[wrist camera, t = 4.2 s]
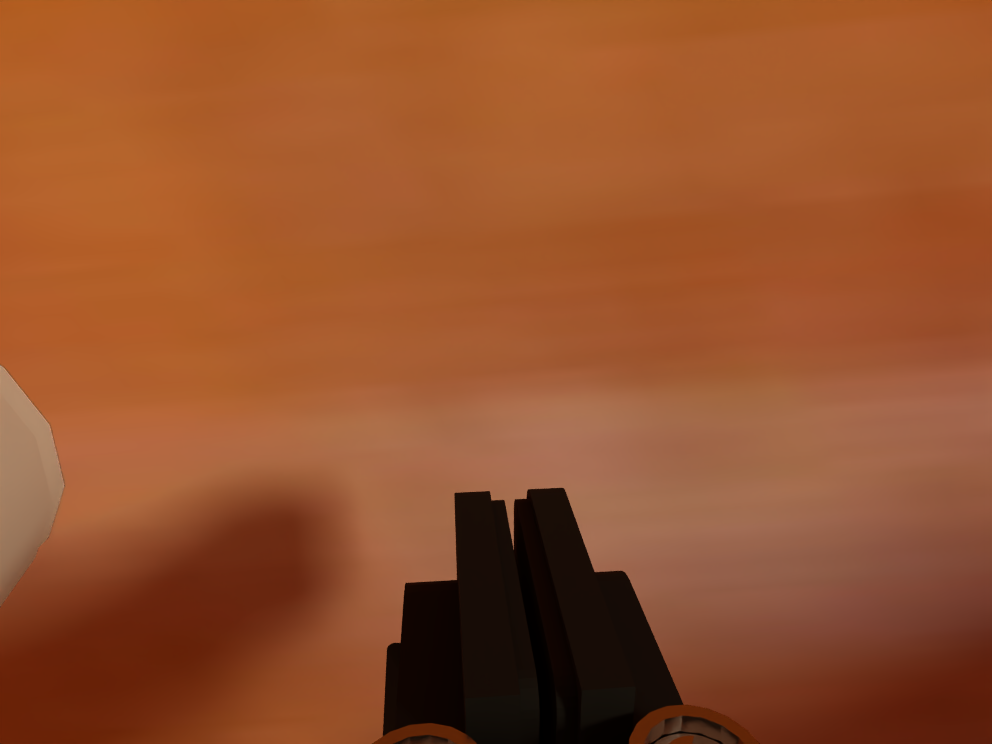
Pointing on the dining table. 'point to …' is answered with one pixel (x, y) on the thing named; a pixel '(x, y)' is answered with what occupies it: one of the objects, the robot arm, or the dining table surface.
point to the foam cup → (24, 482)
